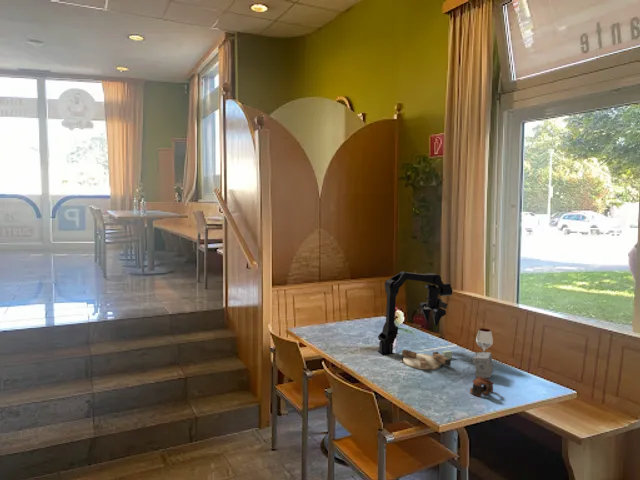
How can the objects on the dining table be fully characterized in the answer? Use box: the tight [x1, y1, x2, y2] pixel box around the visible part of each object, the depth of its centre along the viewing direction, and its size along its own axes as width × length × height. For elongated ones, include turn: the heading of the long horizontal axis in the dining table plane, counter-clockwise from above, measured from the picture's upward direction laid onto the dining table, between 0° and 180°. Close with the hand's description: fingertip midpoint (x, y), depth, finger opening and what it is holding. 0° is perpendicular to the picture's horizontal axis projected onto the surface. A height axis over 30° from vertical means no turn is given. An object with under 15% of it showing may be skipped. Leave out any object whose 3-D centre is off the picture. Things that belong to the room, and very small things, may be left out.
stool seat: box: [401, 349, 442, 371], centre depth 244 cm, size 19×20×4 cm
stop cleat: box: [441, 349, 453, 360], centre depth 252 cm, size 5×2×4 cm, turn 110°
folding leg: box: [432, 351, 452, 367], centre depth 242 cm, size 12×3×3 cm, turn 20°
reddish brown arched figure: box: [469, 376, 494, 398], centre depth 207 cm, size 12×10×8 cm
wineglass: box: [475, 327, 494, 352], centre depth 243 cm, size 8×8×18 cm
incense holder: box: [472, 351, 494, 379], centre depth 228 cm, size 10×8×10 cm
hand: (431, 323), depth 264 cm, fingers open, 9 cm apart
